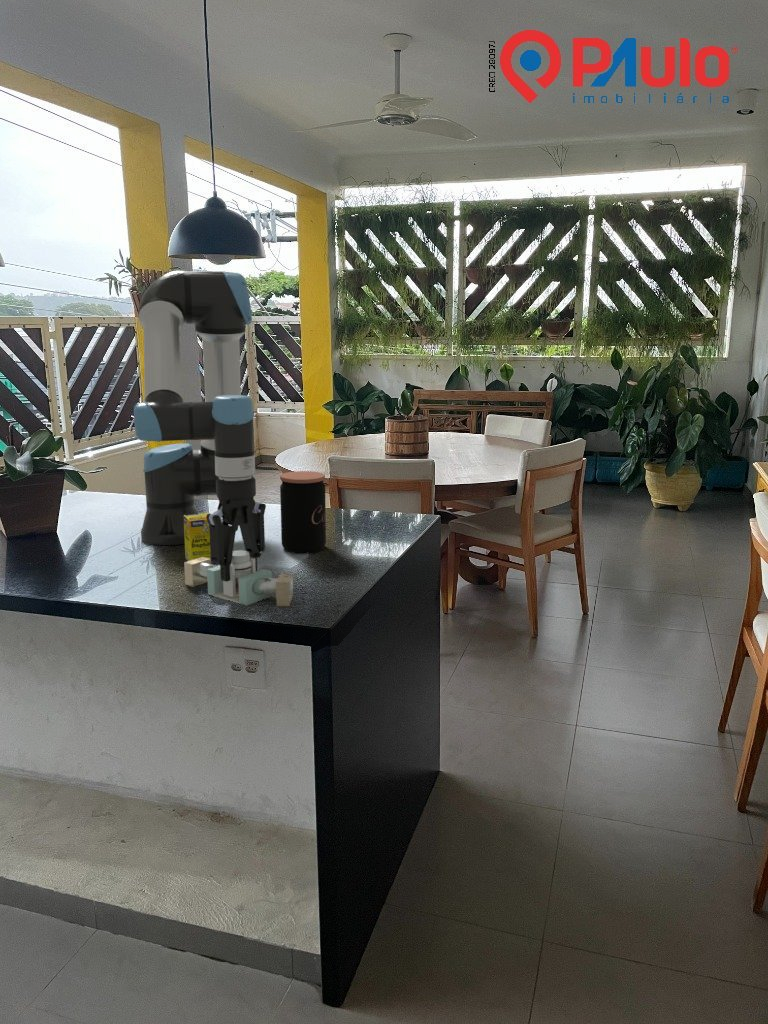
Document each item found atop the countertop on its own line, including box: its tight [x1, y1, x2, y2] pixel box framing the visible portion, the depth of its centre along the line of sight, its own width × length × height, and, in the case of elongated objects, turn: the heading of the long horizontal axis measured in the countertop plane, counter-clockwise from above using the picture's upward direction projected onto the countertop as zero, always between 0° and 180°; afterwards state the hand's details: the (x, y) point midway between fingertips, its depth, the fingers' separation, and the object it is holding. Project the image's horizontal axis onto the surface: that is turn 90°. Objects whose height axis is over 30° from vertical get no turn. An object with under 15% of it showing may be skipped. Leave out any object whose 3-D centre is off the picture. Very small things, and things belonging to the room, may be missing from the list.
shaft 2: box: [252, 573, 294, 607], centre depth 148 cm, size 8×5×5 cm, turn 88°
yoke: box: [207, 564, 273, 607], centre depth 151 cm, size 11×7×5 cm, turn 53°
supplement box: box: [184, 512, 218, 566], centre depth 171 cm, size 6×6×11 cm
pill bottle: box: [231, 549, 252, 597], centre depth 151 cm, size 5×5×8 cm
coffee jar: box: [279, 470, 327, 555], centre depth 182 cm, size 11×11×18 cm
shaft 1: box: [183, 557, 217, 588], centre depth 157 cm, size 9×5×5 cm, turn 53°
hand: (240, 591), depth 152 cm, fingers closed on pill bottle, 5 cm apart
